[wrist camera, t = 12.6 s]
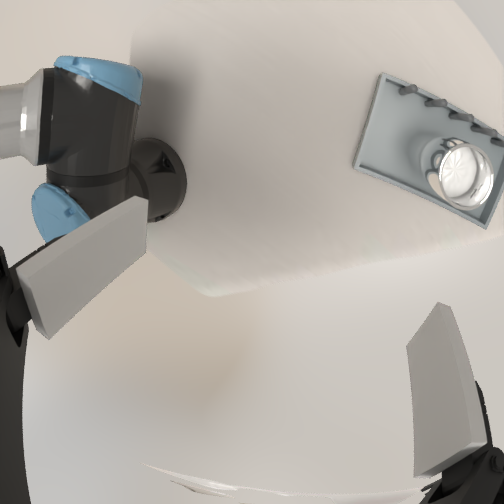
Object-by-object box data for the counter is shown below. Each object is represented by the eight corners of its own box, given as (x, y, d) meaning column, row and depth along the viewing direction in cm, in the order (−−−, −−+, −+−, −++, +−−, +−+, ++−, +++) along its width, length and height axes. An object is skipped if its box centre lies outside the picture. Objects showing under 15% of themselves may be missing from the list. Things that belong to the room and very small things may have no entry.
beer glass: (454, 142, 31) (504, 162, 19) (438, 185, 35) (479, 223, 22) (413, 121, 32) (451, 128, 20) (398, 165, 36) (426, 195, 23)
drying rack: (352, 164, 39) (355, 176, 32) (379, 75, 32) (388, 67, 25) (477, 221, 36) (497, 242, 29) (507, 143, 28) (533, 153, 22)
